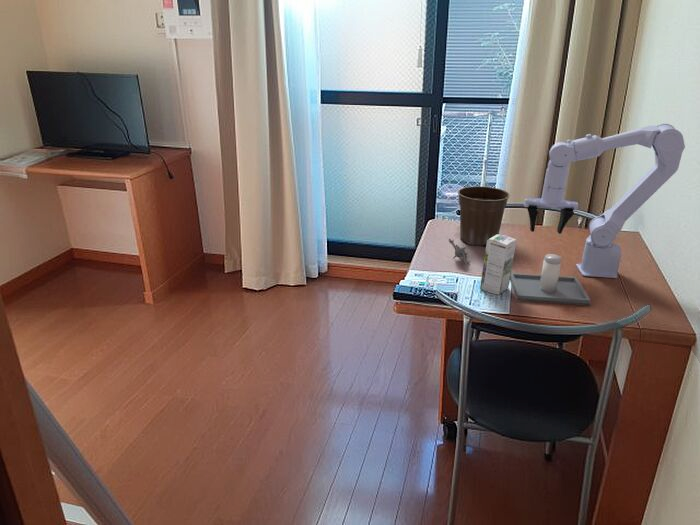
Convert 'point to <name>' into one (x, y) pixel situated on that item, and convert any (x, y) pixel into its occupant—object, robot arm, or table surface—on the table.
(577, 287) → the tray
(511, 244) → the syrup box
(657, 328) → the table surface
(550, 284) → the block
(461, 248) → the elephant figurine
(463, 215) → the plant pot
